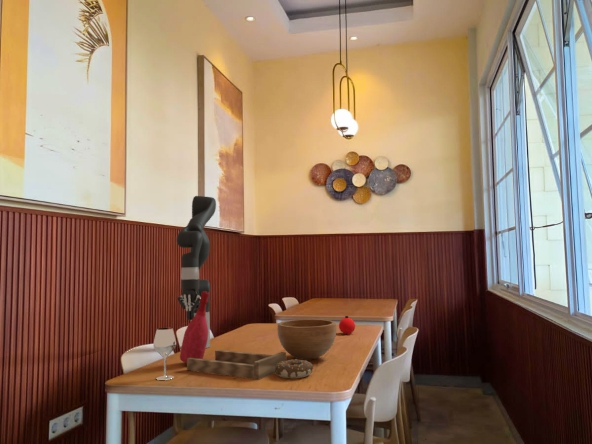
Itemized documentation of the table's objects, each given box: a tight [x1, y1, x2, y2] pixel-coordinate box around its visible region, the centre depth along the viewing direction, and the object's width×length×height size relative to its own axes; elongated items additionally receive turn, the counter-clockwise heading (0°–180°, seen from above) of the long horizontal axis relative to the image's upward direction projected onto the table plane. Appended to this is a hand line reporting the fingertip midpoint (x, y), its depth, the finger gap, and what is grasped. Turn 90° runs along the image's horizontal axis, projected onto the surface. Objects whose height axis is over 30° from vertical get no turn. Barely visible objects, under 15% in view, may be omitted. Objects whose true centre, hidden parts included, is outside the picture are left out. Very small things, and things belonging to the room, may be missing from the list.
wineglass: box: [153, 326, 178, 381], centre depth 170 cm, size 8×8×18 cm
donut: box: [274, 358, 314, 380], centre depth 170 cm, size 14×14×5 cm
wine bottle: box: [179, 291, 209, 364], centre depth 191 cm, size 10×10×30 cm
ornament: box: [338, 315, 356, 335], centre depth 257 cm, size 9×9×10 cm
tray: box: [186, 349, 287, 381], centre depth 181 cm, size 34×19×6 cm, turn 60°
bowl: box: [277, 318, 337, 361], centre depth 196 cm, size 25×25×15 cm
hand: (190, 319), depth 194 cm, fingers closed
